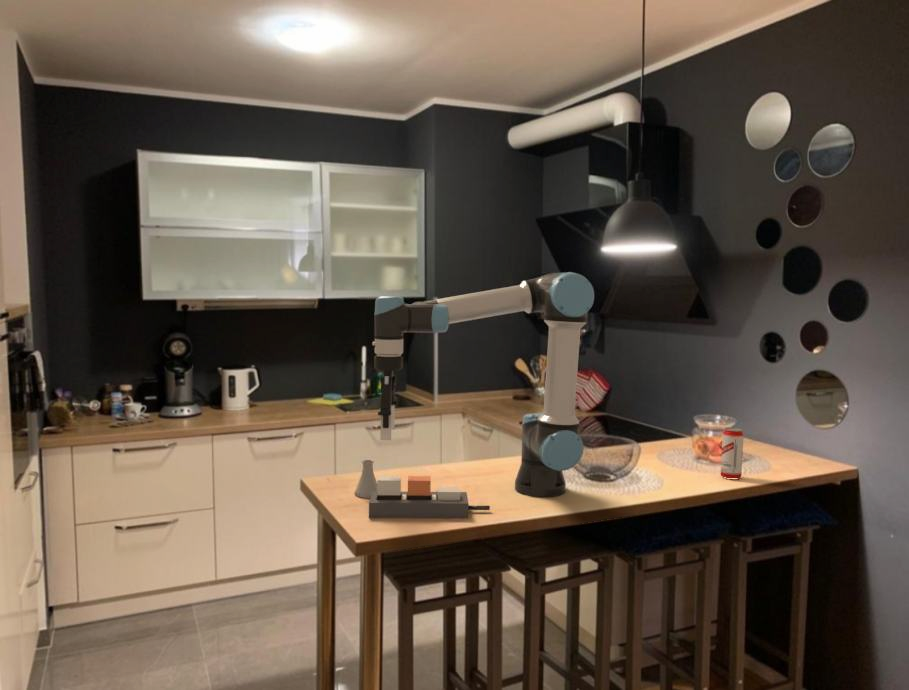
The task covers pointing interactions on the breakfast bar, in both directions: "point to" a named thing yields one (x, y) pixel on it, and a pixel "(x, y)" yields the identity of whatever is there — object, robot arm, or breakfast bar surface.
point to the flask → (366, 480)
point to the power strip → (419, 506)
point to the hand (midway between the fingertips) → (387, 434)
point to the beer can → (732, 453)
